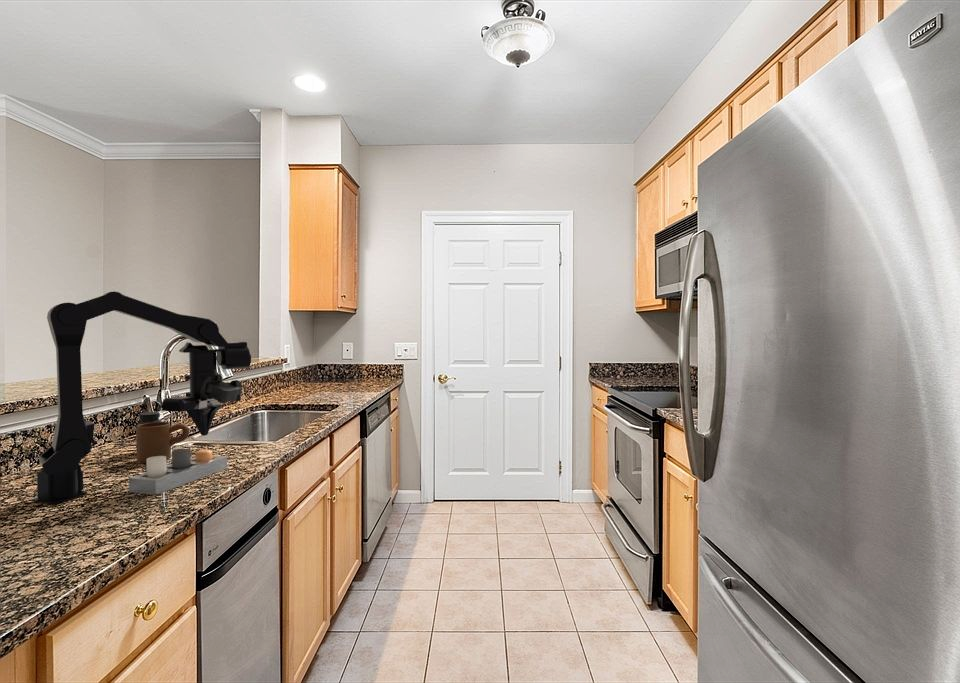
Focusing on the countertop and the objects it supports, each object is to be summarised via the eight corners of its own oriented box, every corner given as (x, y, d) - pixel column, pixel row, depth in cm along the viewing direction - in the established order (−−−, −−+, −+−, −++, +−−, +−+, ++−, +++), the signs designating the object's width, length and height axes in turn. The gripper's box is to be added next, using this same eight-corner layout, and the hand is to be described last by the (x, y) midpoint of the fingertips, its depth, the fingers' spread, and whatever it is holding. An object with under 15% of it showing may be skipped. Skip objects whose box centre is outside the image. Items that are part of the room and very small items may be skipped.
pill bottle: (131, 454, 136) (130, 414, 136) (152, 448, 142) (151, 410, 142) (148, 455, 134) (147, 415, 134) (168, 450, 140) (167, 411, 140)
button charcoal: (181, 472, 111) (181, 453, 111) (168, 471, 112) (168, 452, 112) (194, 468, 114) (194, 449, 114) (181, 467, 115) (181, 448, 115)
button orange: (204, 472, 117) (204, 453, 117) (192, 471, 118) (191, 452, 118) (216, 468, 121) (215, 450, 120) (203, 467, 121) (203, 449, 121)
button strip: (155, 494, 102) (155, 480, 102) (129, 492, 104) (128, 478, 104) (227, 468, 122) (227, 456, 122) (203, 466, 124) (203, 454, 123)
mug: (192, 453, 137) (191, 419, 136) (187, 460, 130) (186, 424, 129) (140, 457, 132) (140, 422, 132) (133, 465, 125) (132, 428, 125)
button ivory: (156, 481, 104) (155, 460, 104) (142, 479, 105) (142, 459, 105) (170, 476, 108) (170, 456, 108) (157, 475, 109) (157, 455, 109)
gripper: (200, 375, 108) (201, 446, 108) (258, 368, 126) (259, 429, 126) (159, 374, 111) (160, 443, 111) (221, 367, 129) (222, 427, 129)
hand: (204, 435), depth 119 cm, fingers closed
